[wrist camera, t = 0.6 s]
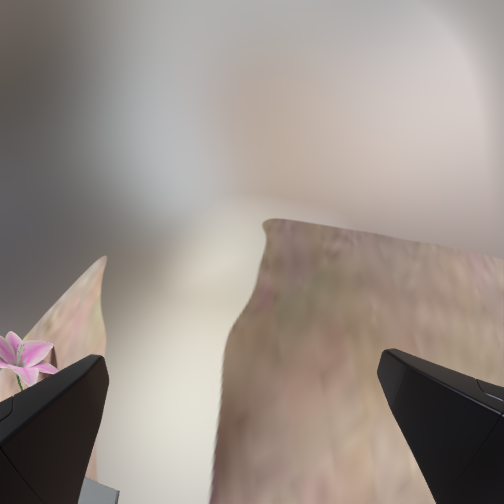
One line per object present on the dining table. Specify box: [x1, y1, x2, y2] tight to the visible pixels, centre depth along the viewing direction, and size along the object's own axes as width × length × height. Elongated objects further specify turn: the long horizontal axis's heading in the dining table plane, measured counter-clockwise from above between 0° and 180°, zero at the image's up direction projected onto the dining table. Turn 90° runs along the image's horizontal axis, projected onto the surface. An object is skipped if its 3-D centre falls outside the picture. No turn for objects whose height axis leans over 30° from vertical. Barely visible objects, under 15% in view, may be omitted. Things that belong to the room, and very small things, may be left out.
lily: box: [0, 331, 59, 391], centre depth 26 cm, size 12×12×10 cm
